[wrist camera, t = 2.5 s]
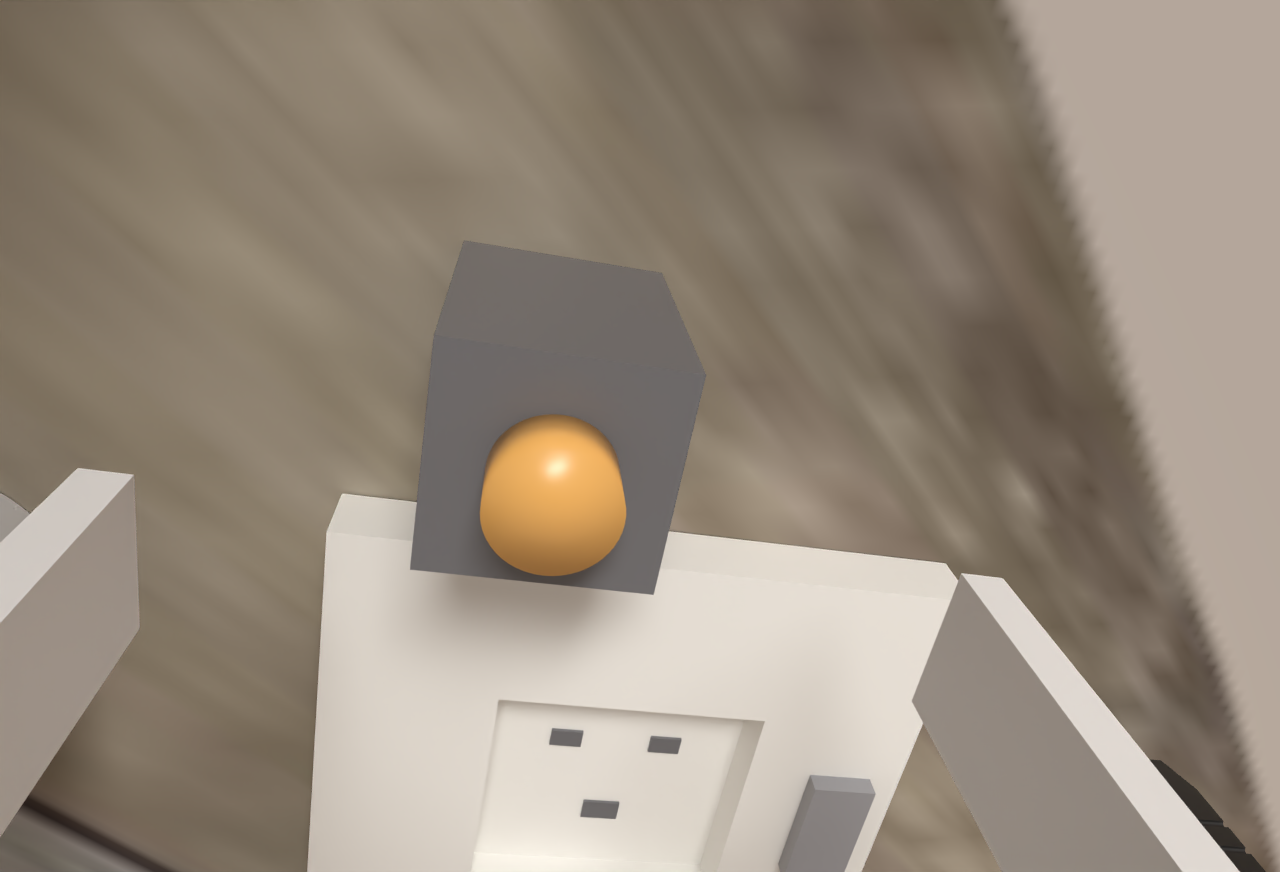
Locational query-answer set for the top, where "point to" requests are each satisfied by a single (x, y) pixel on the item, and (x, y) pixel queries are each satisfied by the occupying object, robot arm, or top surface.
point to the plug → (554, 422)
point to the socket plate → (613, 708)
